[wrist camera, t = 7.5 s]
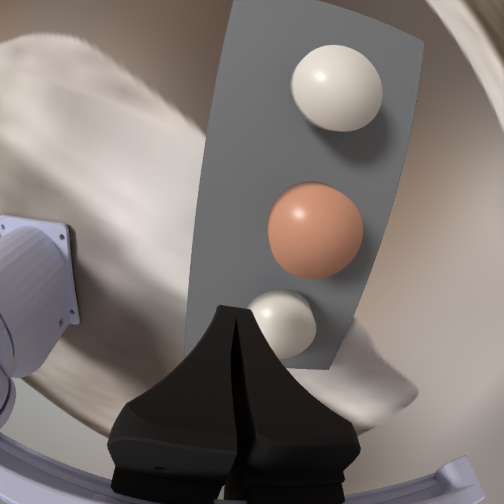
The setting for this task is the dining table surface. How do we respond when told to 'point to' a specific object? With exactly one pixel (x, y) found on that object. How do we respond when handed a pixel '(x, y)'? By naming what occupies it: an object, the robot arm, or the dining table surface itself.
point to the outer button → (336, 89)
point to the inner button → (284, 321)
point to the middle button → (314, 230)
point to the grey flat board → (293, 162)
